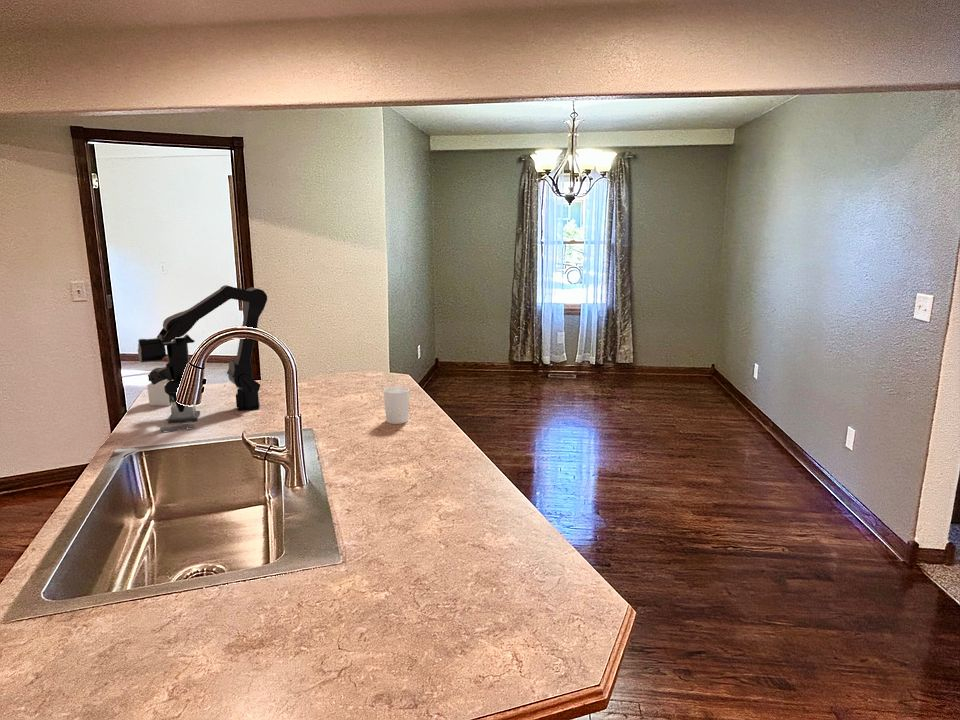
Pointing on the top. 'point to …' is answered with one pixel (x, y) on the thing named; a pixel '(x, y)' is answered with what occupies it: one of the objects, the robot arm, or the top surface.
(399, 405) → the white cup
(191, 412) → the end link
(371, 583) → the top surface
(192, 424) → the chain tail
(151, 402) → the medicine bottle
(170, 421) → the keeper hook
